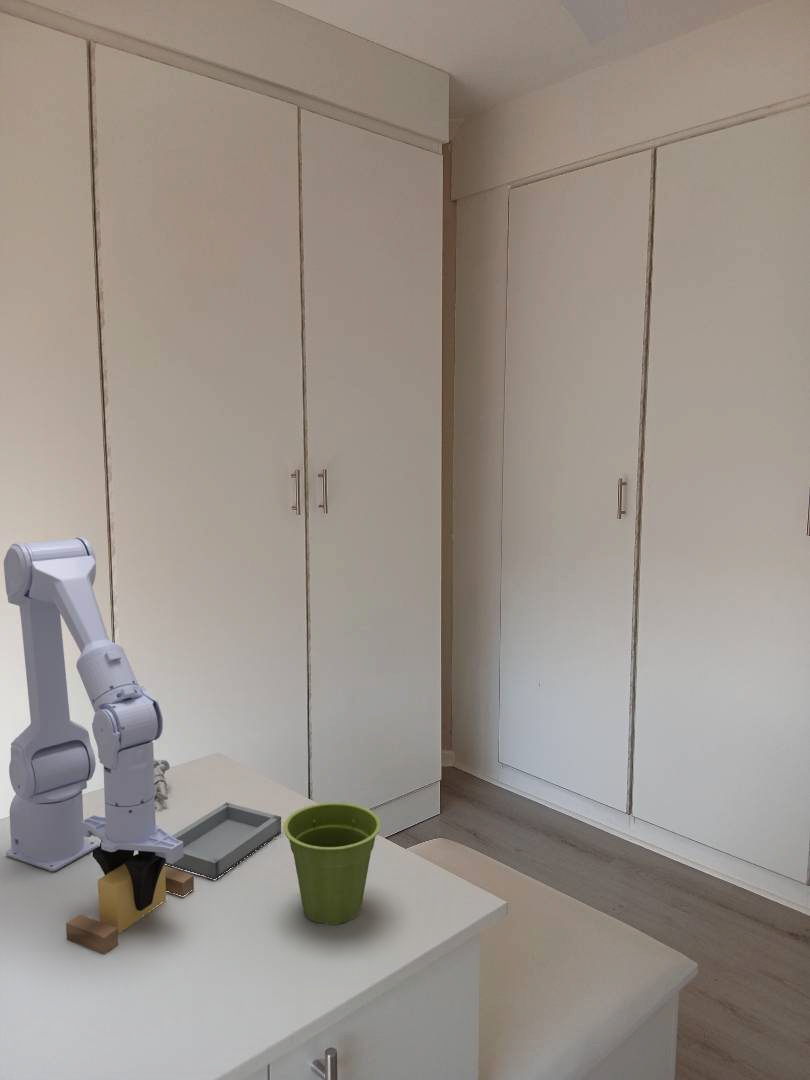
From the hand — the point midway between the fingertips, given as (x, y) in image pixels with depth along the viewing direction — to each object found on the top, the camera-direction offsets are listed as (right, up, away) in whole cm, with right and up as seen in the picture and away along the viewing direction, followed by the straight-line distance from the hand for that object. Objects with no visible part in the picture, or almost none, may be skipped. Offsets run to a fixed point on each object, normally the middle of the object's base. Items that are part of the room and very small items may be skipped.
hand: (133, 902), depth 103 cm
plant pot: (+24, -2, +2) cm, 24 cm away
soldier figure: (-7, +3, +33) cm, 34 cm away
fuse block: (0, -1, 0) cm, 1 cm away
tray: (+7, +1, +17) cm, 18 cm away
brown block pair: (0, -1, 0) cm, 1 cm away
